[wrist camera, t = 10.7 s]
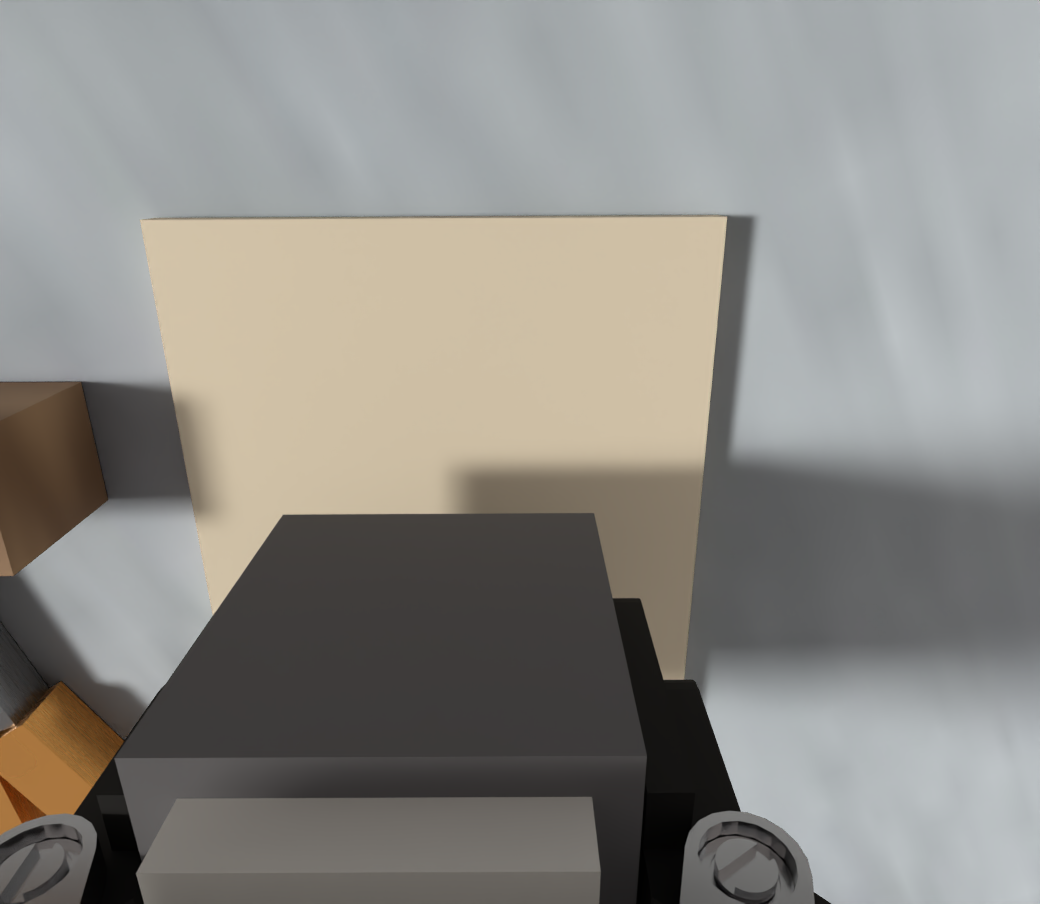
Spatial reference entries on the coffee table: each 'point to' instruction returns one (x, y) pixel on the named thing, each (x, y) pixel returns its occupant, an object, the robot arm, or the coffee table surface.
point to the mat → (447, 379)
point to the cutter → (45, 743)
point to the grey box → (398, 723)
